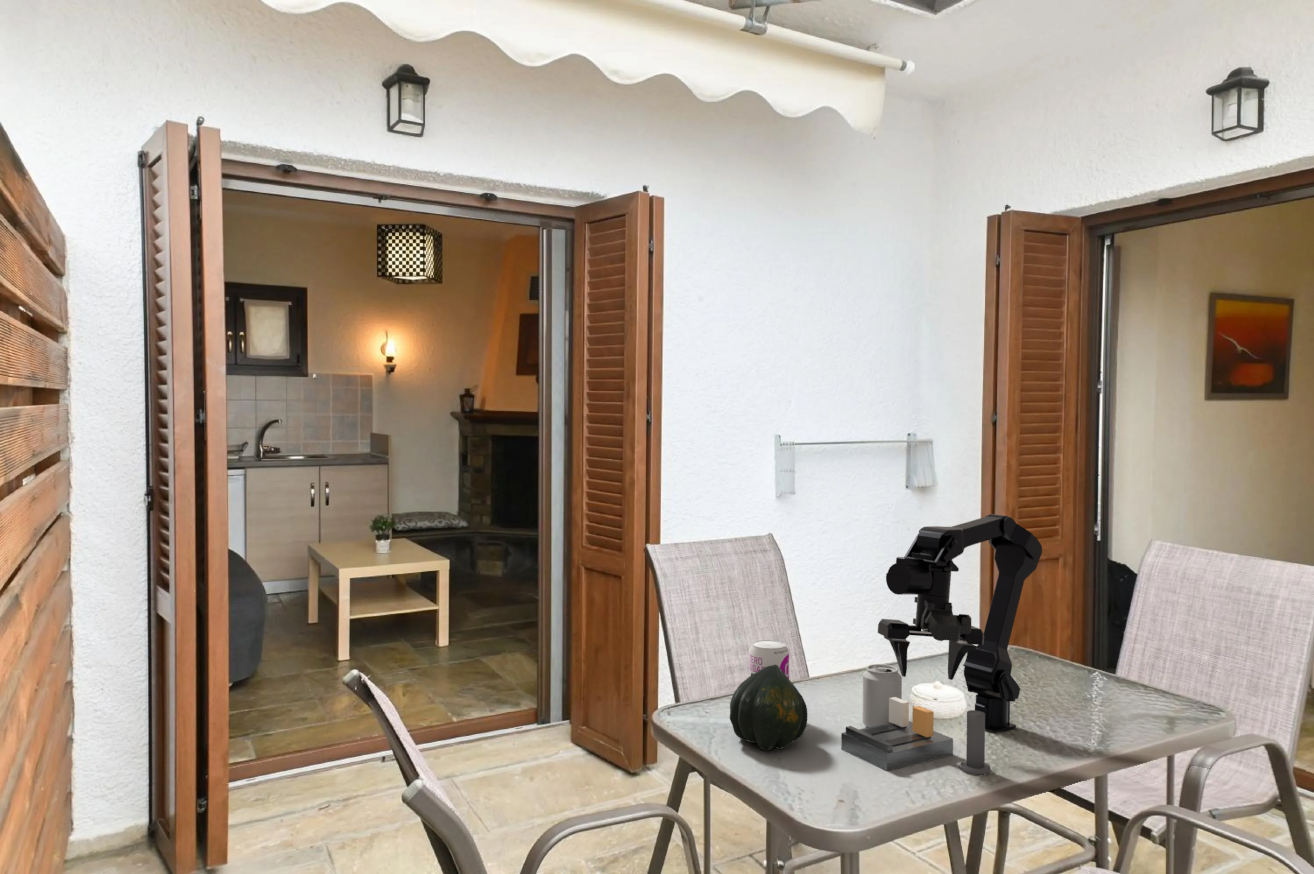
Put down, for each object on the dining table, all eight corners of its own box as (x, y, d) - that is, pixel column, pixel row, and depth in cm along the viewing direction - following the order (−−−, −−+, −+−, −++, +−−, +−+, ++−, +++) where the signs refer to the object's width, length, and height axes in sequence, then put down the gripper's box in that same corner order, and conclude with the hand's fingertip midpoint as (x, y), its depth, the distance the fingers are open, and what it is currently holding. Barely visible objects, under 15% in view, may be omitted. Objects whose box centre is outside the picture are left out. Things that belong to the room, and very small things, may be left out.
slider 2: (918, 729, 169) (919, 705, 169) (933, 735, 166) (933, 711, 166) (912, 731, 168) (912, 707, 168) (926, 737, 165) (927, 712, 165)
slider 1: (895, 720, 175) (895, 696, 174) (908, 725, 171) (908, 701, 171) (888, 721, 174) (889, 697, 174) (902, 727, 171) (902, 703, 171)
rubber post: (974, 762, 162) (974, 706, 162) (996, 771, 158) (997, 714, 158) (954, 767, 160) (954, 711, 160) (976, 777, 156) (977, 719, 155)
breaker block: (905, 734, 177) (905, 713, 177) (952, 754, 166) (953, 731, 166) (841, 748, 169) (841, 726, 169) (886, 770, 158) (886, 746, 158)
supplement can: (793, 713, 189) (794, 641, 189) (781, 725, 182) (782, 650, 182) (756, 708, 193) (756, 637, 192) (743, 719, 185) (743, 646, 185)
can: (902, 734, 177) (903, 673, 176) (862, 732, 178) (863, 671, 178) (900, 722, 184) (900, 663, 184) (862, 719, 185) (862, 661, 185)
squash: (729, 730, 163) (781, 664, 165) (705, 708, 177) (754, 647, 180) (786, 778, 165) (836, 712, 168) (757, 752, 180) (804, 692, 182)
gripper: (902, 597, 162) (895, 685, 162) (1001, 604, 164) (995, 691, 164) (879, 588, 173) (873, 671, 173) (972, 595, 175) (966, 677, 175)
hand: (927, 677), depth 171 cm, fingers open, 9 cm apart
